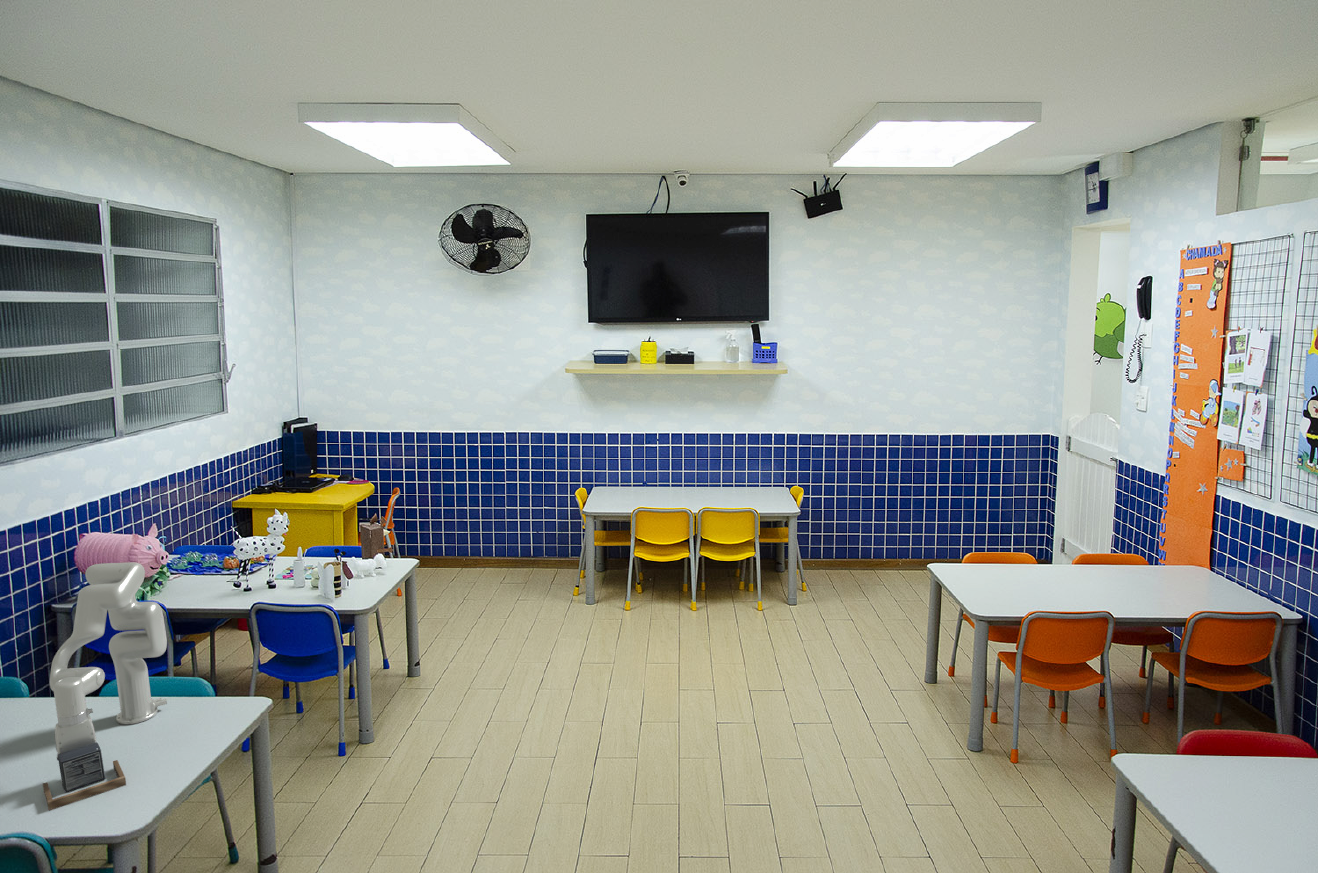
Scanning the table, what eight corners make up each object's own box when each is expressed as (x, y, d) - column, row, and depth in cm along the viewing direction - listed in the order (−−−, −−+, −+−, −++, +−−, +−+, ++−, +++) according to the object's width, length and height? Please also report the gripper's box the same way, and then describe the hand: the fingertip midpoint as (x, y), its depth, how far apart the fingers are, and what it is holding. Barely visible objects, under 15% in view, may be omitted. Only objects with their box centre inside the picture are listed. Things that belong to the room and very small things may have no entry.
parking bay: (118, 767, 268) (117, 760, 268) (126, 785, 259) (125, 777, 258) (43, 791, 256) (42, 783, 255) (49, 810, 246) (48, 803, 246)
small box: (101, 771, 266) (97, 740, 264) (106, 780, 261) (102, 749, 260) (61, 784, 259) (57, 753, 257) (65, 794, 254) (60, 762, 252)
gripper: (99, 705, 268) (106, 758, 271) (41, 721, 258) (49, 775, 261) (103, 714, 262) (110, 767, 265) (44, 730, 253) (52, 786, 256)
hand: (80, 771), depth 263 cm, fingers closed
